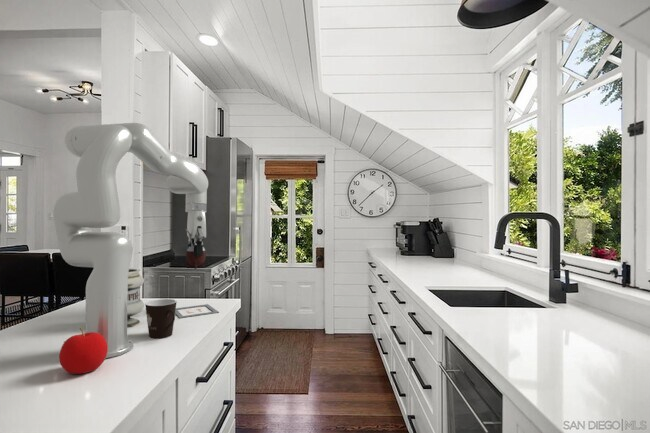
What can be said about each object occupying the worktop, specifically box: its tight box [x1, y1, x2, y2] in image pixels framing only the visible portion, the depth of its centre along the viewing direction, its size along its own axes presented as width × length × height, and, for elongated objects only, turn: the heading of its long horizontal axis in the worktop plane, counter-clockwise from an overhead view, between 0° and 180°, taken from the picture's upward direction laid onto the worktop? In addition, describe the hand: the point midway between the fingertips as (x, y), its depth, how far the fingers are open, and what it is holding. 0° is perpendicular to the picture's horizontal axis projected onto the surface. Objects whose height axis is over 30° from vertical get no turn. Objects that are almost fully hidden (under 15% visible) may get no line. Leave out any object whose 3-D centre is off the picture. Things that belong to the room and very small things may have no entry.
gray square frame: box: [175, 303, 220, 319], centre depth 134 cm, size 14×14×1 cm
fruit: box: [58, 326, 108, 375], centre depth 82 cm, size 9×9×10 cm
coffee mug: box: [144, 298, 178, 340], centre depth 105 cm, size 12×9×10 cm
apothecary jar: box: [127, 267, 145, 328], centre depth 117 cm, size 12×12×18 cm
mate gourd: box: [184, 228, 207, 270], centre depth 133 cm, size 8×8×15 cm
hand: (195, 254), depth 133 cm, fingers closed on mate gourd, 7 cm apart
